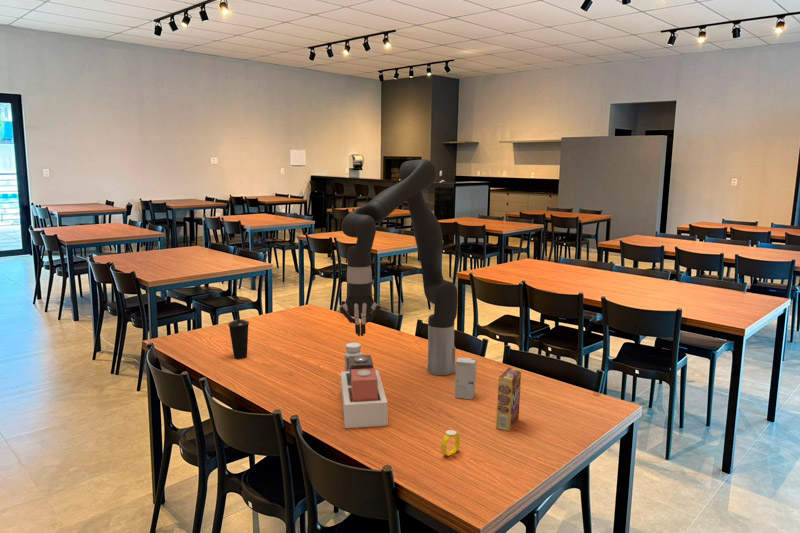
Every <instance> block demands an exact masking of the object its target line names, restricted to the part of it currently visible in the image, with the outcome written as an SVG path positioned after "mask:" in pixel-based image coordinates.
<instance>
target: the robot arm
mask: <svg viewBox="0 0 800 533" xmlns="http://www.w3.org/2000/svg"><path fill="white" fill-rule="evenodd" d="M398 173H399V181H400V182H397V183H396V184H394V185H392V186H389V187H388V188H385V189H384V190H382V191H381V192H379V193H377V194H376V195H375V196H374V197H373V198H371V199H370V200H369V201H368V202H367V203H366V204H364V205H361V206H359V207H357V208H356V209H354V210H352V211H350V212H349V213H348V214H346V215H345V217H344V218H343V219H342V222H341V230H342V233H343V234H344V235H345V236H346V237H349V238H356V243H355V245H351V246H349V247H348V249H347V270H346V289H347V290H346V294H347V295H346V300H345V303H344V304H342V305H340V306H339V311H340V312H341V313H342V315H343V316H344V317H345V318H346V319H347V321H348V322H349V323H350V324H354V328H355V335H357V337H364V335H365V334H366V333H367V332H366V324H367V323H371V322H372V321H373V319H374V318H375V317H376V315H377V314H378V313H379V312H380V310H381V305H380V304H379V303H376V302H375V300H374V298H373V282H372V281H373V270H372V264H371V263H372V254H371V253H372V248H373V245H374V241H375V236H376V233H377V232H376V231H377V226H376V224H377V223H381V222H383V221H384V220H385V219H386V218H387V217H389V215H390V214H391V213H393V212H394V211H395V210H397V208H398V207H400V206H401V205H402V204H404V203H405V202H406V203H407V207H408V211H409V215H410V219H411V224H412V229H413V234H414V239H415V244H416V248H417V253H418V258H419V262H420V267H421V273H422V284H423V291H424V293H423V294H424V296H425V298H426V300H427V301H428V302H429V303H431V304H433V305H434V307H433V308H434V309H433V310H434V311H433V314H430V315H429V316H428V319H427V324H428V325H427V328H428V329H427V332H428V334H427V372H428V373H430V374H431V375H435V376H449V375H450V374H455V373H456V352H457V351H456V346H455V320H456V319H457V315H458V303H459V302H458V301H459V292H458V288H457V286H456V284H455V283H453V282H452V281H449V280H446V279H444V276H443V273H442V268H441V256H442V252H443V248H444V238H443V233H442V228H441V225H440V221H439V220H438V218H437V216H436V215H435V214H434V212H433V210H431V208H430V206H429V205H428V204H427V202H426V200H425V198H424V196H423V190H425V189H427V188H429V187H430V186H432V185H433V184H434V182H435V180H436V178H437V169H436V166H435V164H434V162H432V161H431V160H429V159H424V158H423V159H422V158H421V159H412V160H407V161H403V162H402V164H401V165H400V168H399V172H398ZM348 308H349V310H350V311H351V312H352V313H353V314H354V315H353V316H354V317H353V316H352V315H351V314H350V313H349V312H348ZM370 309H371V311H370V313H369V314H368V316H367V313H368V312H369V310H370ZM359 314H360V315H359Z"/></svg>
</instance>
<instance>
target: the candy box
mask: <svg viewBox="0 0 800 533" xmlns="http://www.w3.org/2000/svg"><path fill="white" fill-rule="evenodd" d="M521 380H522V369H520V368H514V367H507V369H506V370H505V371H503V372H502V373H501V375H500V376H498V386H497V388H498V389H497V401H496V404H497V405H496V421H495V422H496V423H495V424H496V425H495V428H496V429H499V430H503V431H506V432H510V431H511V429H512V428H513V426H515V424H516V423H517V422H518V420H519V419H520V418H519V417H520V403H521V402H520V401H521V400H520V399H521V385H522V384H521V383H522V381H521Z"/></svg>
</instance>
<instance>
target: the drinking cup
mask: <svg viewBox="0 0 800 533" xmlns="http://www.w3.org/2000/svg"><path fill="white" fill-rule="evenodd" d="M236 313H237V314H236V317H237V319H233V320H231V321H229V322H228V324H227V325H228V327H229V334H230V342H231V346H232V347H231V348H232V354H233V359H235V360H242V359H243V360H244V359H246V358H248V341H249V340H248V338H249V324H250V322H249V321H248V320H245V319H241V318H240V306H236Z"/></svg>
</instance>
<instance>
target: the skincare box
mask: <svg viewBox="0 0 800 533" xmlns="http://www.w3.org/2000/svg"><path fill="white" fill-rule="evenodd" d="M454 375H455V379H454V380H455V381H454V398H458V399H459V398H460V399H466V400H473V399H474V398H475V395H476V381H477V380H476V377H477V358H470V357H458V358H457V359H456V360H455V373H454Z"/></svg>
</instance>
